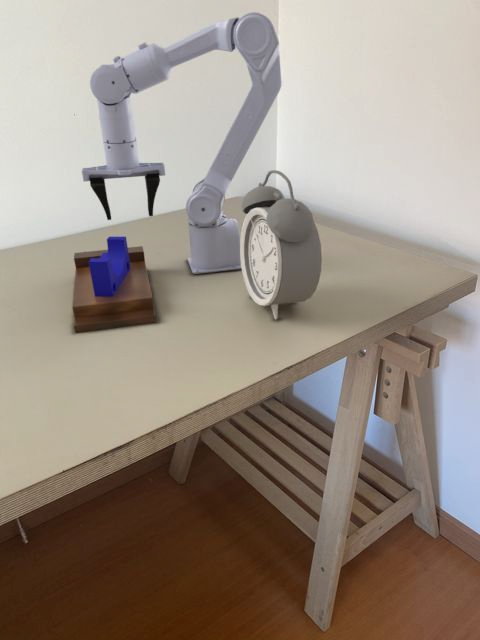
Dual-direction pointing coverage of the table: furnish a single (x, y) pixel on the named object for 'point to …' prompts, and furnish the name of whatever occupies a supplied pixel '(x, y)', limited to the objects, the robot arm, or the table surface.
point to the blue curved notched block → (110, 267)
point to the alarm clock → (278, 247)
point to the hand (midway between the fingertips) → (130, 216)
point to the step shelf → (124, 306)
